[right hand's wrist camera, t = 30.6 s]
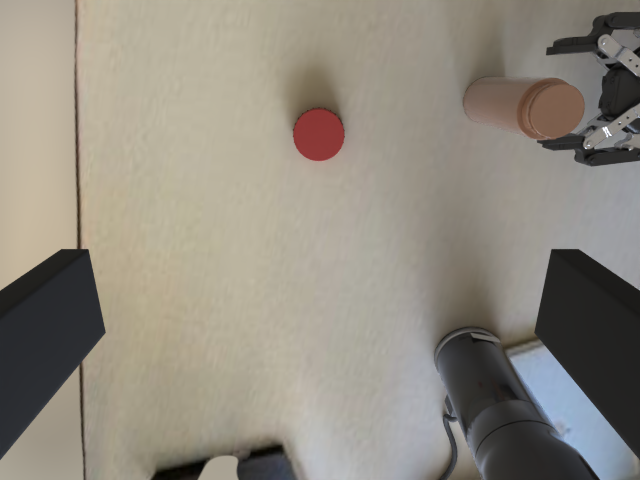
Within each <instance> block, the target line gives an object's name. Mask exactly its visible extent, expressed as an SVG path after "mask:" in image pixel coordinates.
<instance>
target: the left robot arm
mask: <svg viewBox="0 0 640 480" xmlns="http://www.w3.org/2000/svg"><path fill="white" fill-rule="evenodd" d="M613 30H634V31H633V34H635V36H636V37H637V38H640V12H615V13H611V14H609V15H602V16H598V17H596V18H595V19H594V21H593V29H592V31H591V33H590V34H589V35H588V36H585V37H570V38H562V39H558V40H556V41H554V43H553V47H548V48H547V51H546V55H557V54H572V53H585V52H590V53H591V54H592V55H593V56H594V57H596V58H597V62H598V63H599V64H601V65H602V66H603V67H604V68H605V69H606V70H608V72H607V74H606V76H603V80H602V91H603V93H602V95H601V98H600V100H599V106H598V108H600V109H601V113H600V114H599V115H597V116H596V117H595V118H593V119H592V120H591V121H589V122H588V123H587V126H586V127H585V128H583V129H582V130H581V131H579V132H578V133H577V134H572V133H568V134H567V135H565V136H562V137H559V138H556V139H550V140H549V139H547V140H537V143H540V144H543V145H542V147H544V148H547V149H550V150H553V151H554V150H570V149H574V150H575V153H576V154H575V157H574V159H575V161H576V162H579V163H582V164H585V165H589V166H599V165H607V164H616V163H624V162H632V161H640V47H639V48H637V49H636V50H635V51H633V52H632V51H631V50H630V49H628V48H626V47H623V46H621V45H620V44H619V43H618V42H616V41H615V40H614V39H613V38H612V37H611V34H612V32H613ZM621 129H622V130H623V131H624V132H626V133H628V134H627V136H626V138H625V139H623V140H620V141H618V142H617V143H615V144H614V147H610V148H602V149H594V146H595V145H597V144H598V143H600V142H601V141H602V140H604V139H605V138H606V137H609V136H612V135H614V134H616V133H617V132H618V131H620V130H621ZM500 343H501V342H500V341H499V339H498V338H496V337H495V336H494V335H493V334H492V333H491V332H489V331H487V330H485V329H482V328H477V327H467V328H462V329H458V330H456V331H454V332H452V333H450V334H448V335H447V336H446V337H445V338H444V339H443V340H442V341H441V342H440V343H439V345H438V346H437V349H436V351H435V356H434V361H435V366H436V368H437V371H438V373H439V375H440V376H441V379H442V381H443V384H444V387H445V389H446V392H447V396H446V399H445V403H446V406H447V408H448V411H449V414H450V415H448V414H445V415H444V417H443V422H444V426H445V429H446V432H447V434H448V437H449V440H450V443H451V446H452V459H451V463H450V465H449V467H448V469H447V471H446V472H445V474H444V475H443V476H442V478H441V479H440V480H447V478H448V477H449V476H450V474H451V473H452V471H453V469H454V467H455V464H456V461H457V447H456V443H455V440H454V437H453V434H452V432H451V429H450V426H449V423H448V421H450V422H456V421H458V422H459V424H460V427H461V429H462V432H463V434H464V437H465V439H466V442H467V444H468V447H469V449H470V451H471V454H472V456H473V459H474V461H475V464H476V466H477V469H478V472H479V474H480V477H481V479H482V480H600V479H599V477H598V476H597V475H596V473H595V472H594V471H593V469H592V468H591V467H590V465H589V464H588V463H587V461H586V460H585V459H584V458H583V456H582V455H581V454H580V453H579V452H578V451H577V450H576V449H575V448H574V447H572V446H571V445H569V444H568V443H566V442H565V441H564V439H563V438H562V436H561V435H560V434H559V432H558V431H557V429H556V428H555V426H554V425H553V423H552V422H551V420H550V419H549V417H548V416H547V414H546V413H545V411H544V410H543V408H542V407H541V405H540V404H539V402H538V401H537V399H536V398H535V396H534V395H533V393H532V392H531V390H530V389H529V387H528V386H527V384H526V383H525V381H524V380H523V378H522V377H521V375H520V374H519V372H518V371H517V369H516V368H515V366H514V365H513V363H512V362H511V360H510V359H509V357H508V356H507V354H506V353H505V351H504V350H503V348H502V345H501V344H500ZM452 416H453V417H452Z"/></svg>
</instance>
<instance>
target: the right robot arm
mask: <svg viewBox="0 0 640 480" xmlns="http://www.w3.org/2000/svg"><path fill="white" fill-rule="evenodd" d="M105 333H106V332H105V327H104V322H103V317H102V313H101V308H100V303H99V298H98V293H97V288H96V284H95V279H94V274H93V269H92V264H91V259H90V255H89V250H88V249H61V250H60V251H58V252H57V253H55V254H54V255H52V256H51V257H49V258H48V259H46V260H45V261H43V262H42V263H40V264H39V265H37V266H36V267H34V268H33V269H32V270H30V271H29V272H27V273H26V274H24V275H23V276H21V277H20V278H18V279H17V280H15V281H14V282H12V283H11V284H9V285H8V286H6V287H5V288H4V289H2V290H1V291H0V460H1V458H2V457H3V456H4V455H5V454H6V452H7V451H8V450H9V449H10V447H11V446H12V445H13V444H14V443H15V442H16V440H17V439H18V438H19V437H20V435H21V434H22V433H23V432H24V431H25V429H26V428H27V427H28V426H29V425H30V423H31V422H32V421H33V420H34V419H35V417H36V416H37V415H38V414H39V412H40V411H41V410H42V409H43V408H44V406H45V405H46V404H47V403H48V402H49V400H50V399H51V398H52V397H53V396H54V394H55V393H56V392H57V391H58V390H59V388H60V387H61V386H62V385H63V383H64V382H65V381H66V380H67V379H68V377H69V376H70V375H71V374H72V373H73V371H74V370H75V369H76V368H77V367H78V365H79V364H80V363H81V362H82V361H83V359H84V358H85V357H86V356H87V355H88V353H89V352H90V351H91V350H92V348H93V347H94V346H95V345H96V344H97V342H98V341H99V340H100V339H101V338H102V336H103V335H104V334H105ZM534 333H535V334H536V335H537V336H538V338H539V339H540V340H541V341H542V342H543V344H544V345H545V346H546V347H547V348H548V350H549V351H550V352H551V353H552V355H553V356H554V357H555V358H556V359H557V361H558V362H559V363H560V364H561V365H562V367H563V368H564V369H565V370H566V371H567V373H568V374H569V375H570V376H571V377H572V379H573V380H574V381H575V382H576V384H577V385H578V386H579V387H580V388H581V390H582V391H583V392H584V393H585V394H586V396H587V397H588V398H589V399H590V400H591V402H592V403H593V404H594V405H595V406H596V408H597V409H598V410H599V411H600V413H601V414H602V415H603V416H604V417H605V419H606V420H607V421H608V422H609V423H610V425H611V426H612V427H613V428H614V429H615V431H616V432H617V433H618V434H619V435H620V437H621V438H622V439H623V440H624V442H625V443H626V444H627V445H628V446H629V448H630V449H631V450H632V451H633V452H634V454H635V455H636V456H637V457H638V458H639V460H640V291H639V290H638V289H636V288H635V287H634V286H632V285H631V284H629V283H628V282H626V281H625V280H623V279H622V278H620V277H619V276H617V275H616V274H614V273H613V272H611V271H610V270H608V269H607V268H606V267H604V266H603V265H601V264H600V263H598V262H597V261H595V260H594V259H592V258H591V257H589V256H588V255H586V254H585V253H583V252H582V251H580V250H579V249H552V250H551V255H550V259H549V264H548V269H547V274H546V279H545V284H544V288H543V293H542V298H541V303H540V308H539V313H538V317H537V322H536V327H535V332H534Z"/></svg>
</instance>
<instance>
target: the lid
mask: <svg viewBox="0 0 640 480" xmlns="http://www.w3.org/2000/svg"><path fill="white" fill-rule="evenodd" d="M293 131H294V135H293V137H294V143H295V145H296V148H297V149H298V151H299V152H300V153H301V154H302V155H303V156H304V157H306V158H308V159H310V160H314V161H324V160H328V159H330V158H332V157H333V156H335V155H336V154H337V153H338V152H339V150H340V149H341V147H342V144H343V143H344V142H343V141H344V137H345V136H344V129H343V124H342V123H341V121H340V118H338V117H337V116H336V114H334V113H333V112H331V110H330V111H329V110H327V109H325V108H320V107H319V108H313V109H311V110H307V111H306V112H305V113H304V114H303V113H302V115H301V117H300V118H298V121H297V123H295V128H294V130H293Z"/></svg>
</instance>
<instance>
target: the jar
mask: <svg viewBox="0 0 640 480" xmlns="http://www.w3.org/2000/svg"><path fill="white" fill-rule="evenodd" d="M463 106H464V110H465V112H466V114H467V116H468V117H469V118H470V119H472V120H473V121H476V122H479V123H482V124H485V125H489V126H492V127H495V128H498V129H502V130H505V131H508V132H512V133H515V134H518V135H521V136H525V137H528V138H531V139H535V140H547V139H549V140H550V139H556V138H559V137H562V136H565V135H567V134H568V133H570V132H571V131H572V130H574V129H575V128H576V126H577V125H578V124H579V122H580V121H581V119H582V116H583V113H584V99H583V96H582V94H581V93H580V91H579V90H578V89H577V88H575V87H574V86H571V85H569V84H568V83H567V82H565V81H563V80H561V79H557V78H524V77H483V78H480V79H478V80H476V81H475V82H473V83H472V84H471V85H470V86H469V88H468V89H467V91H466V93H465V95H464V100H463Z"/></svg>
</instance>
